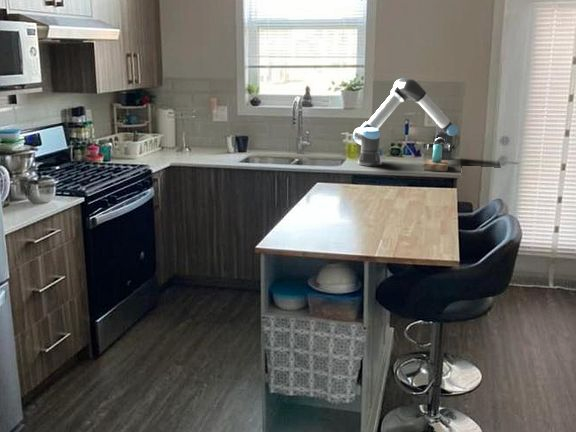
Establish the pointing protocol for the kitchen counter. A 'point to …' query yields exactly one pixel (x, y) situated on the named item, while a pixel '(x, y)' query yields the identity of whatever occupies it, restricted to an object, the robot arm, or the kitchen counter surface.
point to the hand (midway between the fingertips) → (438, 148)
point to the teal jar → (437, 153)
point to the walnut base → (436, 165)
